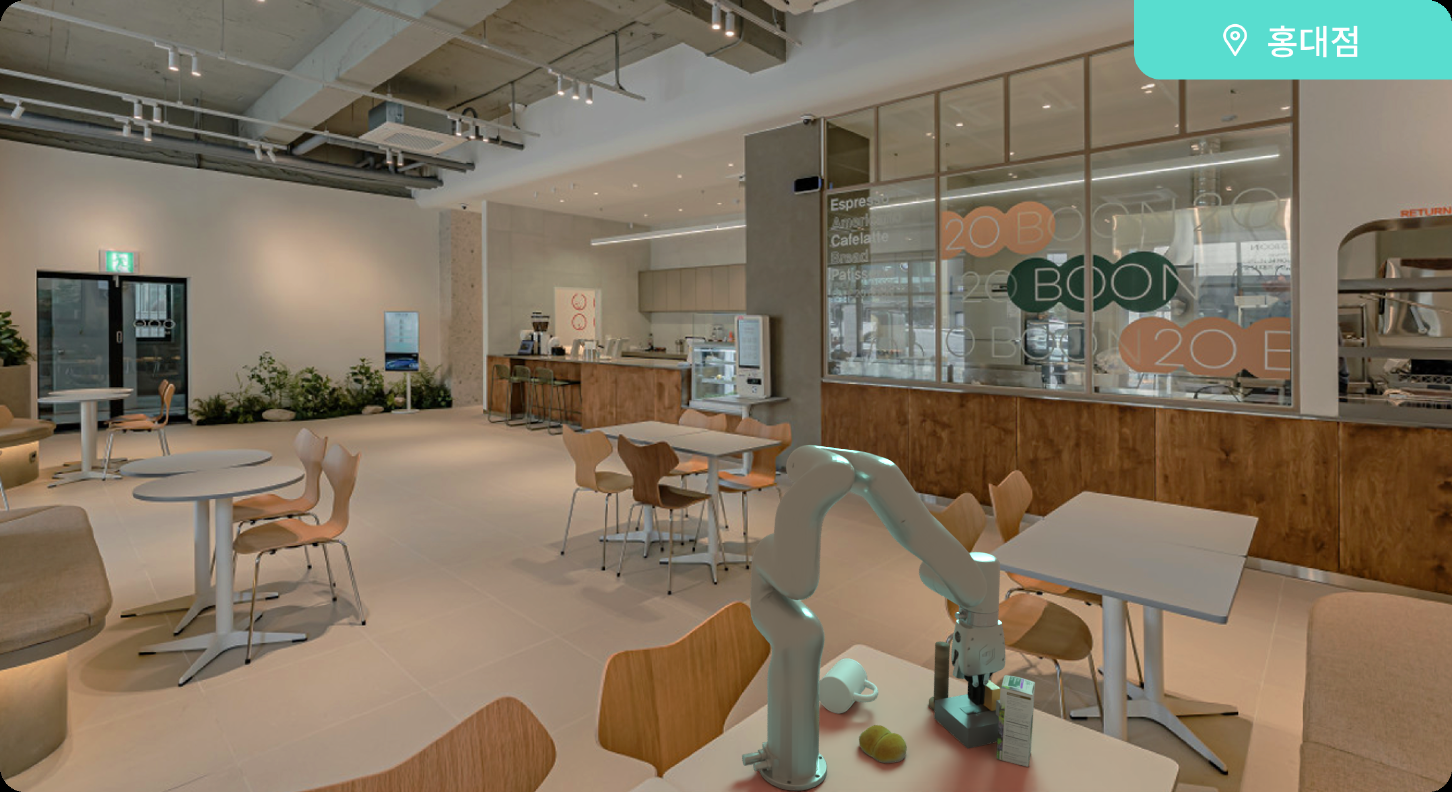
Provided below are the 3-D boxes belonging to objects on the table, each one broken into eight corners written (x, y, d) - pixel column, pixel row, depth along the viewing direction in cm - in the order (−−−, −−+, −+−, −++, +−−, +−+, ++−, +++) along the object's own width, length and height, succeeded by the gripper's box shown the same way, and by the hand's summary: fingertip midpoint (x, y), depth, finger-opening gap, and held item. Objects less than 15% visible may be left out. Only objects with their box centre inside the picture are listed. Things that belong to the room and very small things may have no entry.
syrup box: (999, 743, 136) (1002, 673, 134) (1032, 752, 133) (1035, 680, 132) (996, 759, 131) (999, 686, 129) (1030, 768, 128) (1033, 694, 127)
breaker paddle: (991, 711, 140) (992, 689, 139) (978, 700, 143) (979, 680, 143) (999, 709, 140) (1000, 688, 140) (986, 699, 144) (987, 678, 144)
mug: (816, 707, 149) (816, 672, 148) (834, 687, 157) (834, 654, 157) (869, 724, 143) (869, 687, 142) (885, 702, 151) (885, 667, 150)
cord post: (937, 714, 146) (939, 651, 145) (924, 702, 151) (925, 641, 149) (957, 710, 148) (959, 647, 146) (943, 698, 152) (945, 638, 151)
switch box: (967, 748, 134) (968, 714, 134) (934, 718, 145) (935, 686, 144) (1026, 735, 138) (1027, 702, 138) (990, 707, 149) (991, 676, 148)
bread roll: (890, 771, 128) (891, 750, 127) (852, 748, 135) (852, 729, 134) (916, 753, 133) (916, 733, 133) (878, 732, 140) (878, 714, 140)
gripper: (958, 627, 133) (956, 717, 135) (1022, 617, 138) (1019, 704, 139) (935, 612, 140) (933, 698, 142) (996, 603, 145) (994, 686, 146)
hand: (975, 701), depth 141 cm, fingers closed
